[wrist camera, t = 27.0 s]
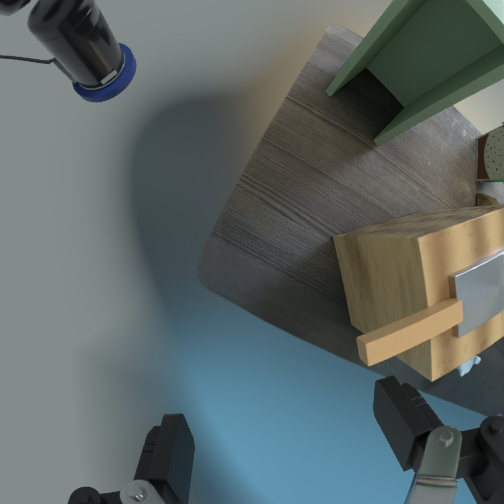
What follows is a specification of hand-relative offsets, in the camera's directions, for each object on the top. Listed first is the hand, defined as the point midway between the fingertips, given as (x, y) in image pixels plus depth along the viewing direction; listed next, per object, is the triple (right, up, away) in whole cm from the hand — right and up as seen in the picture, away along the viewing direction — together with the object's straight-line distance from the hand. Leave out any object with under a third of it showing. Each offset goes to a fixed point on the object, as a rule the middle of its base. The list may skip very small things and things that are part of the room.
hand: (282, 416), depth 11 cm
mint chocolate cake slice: (+46, +24, +35) cm, 62 cm away
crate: (+20, +4, +34) cm, 39 cm away
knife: (+18, +2, +12) cm, 22 cm away
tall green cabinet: (+18, +31, +32) cm, 48 cm away
